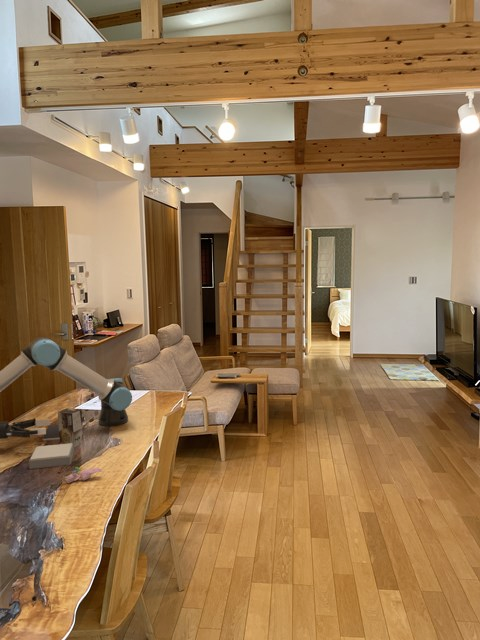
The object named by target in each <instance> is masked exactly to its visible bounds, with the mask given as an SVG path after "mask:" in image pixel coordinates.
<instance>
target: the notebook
mask: <svg viewBox="0 0 480 640" xmlns="http://www.w3.org/2000/svg"><path fill="white" fill-rule="evenodd" d="M41 440H42V441H43V442H44V441H54V440H55V441H56V440H60V436H59V424H51V425H48V427H47V428H46V434H43V437H42V439H41Z"/></svg>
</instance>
